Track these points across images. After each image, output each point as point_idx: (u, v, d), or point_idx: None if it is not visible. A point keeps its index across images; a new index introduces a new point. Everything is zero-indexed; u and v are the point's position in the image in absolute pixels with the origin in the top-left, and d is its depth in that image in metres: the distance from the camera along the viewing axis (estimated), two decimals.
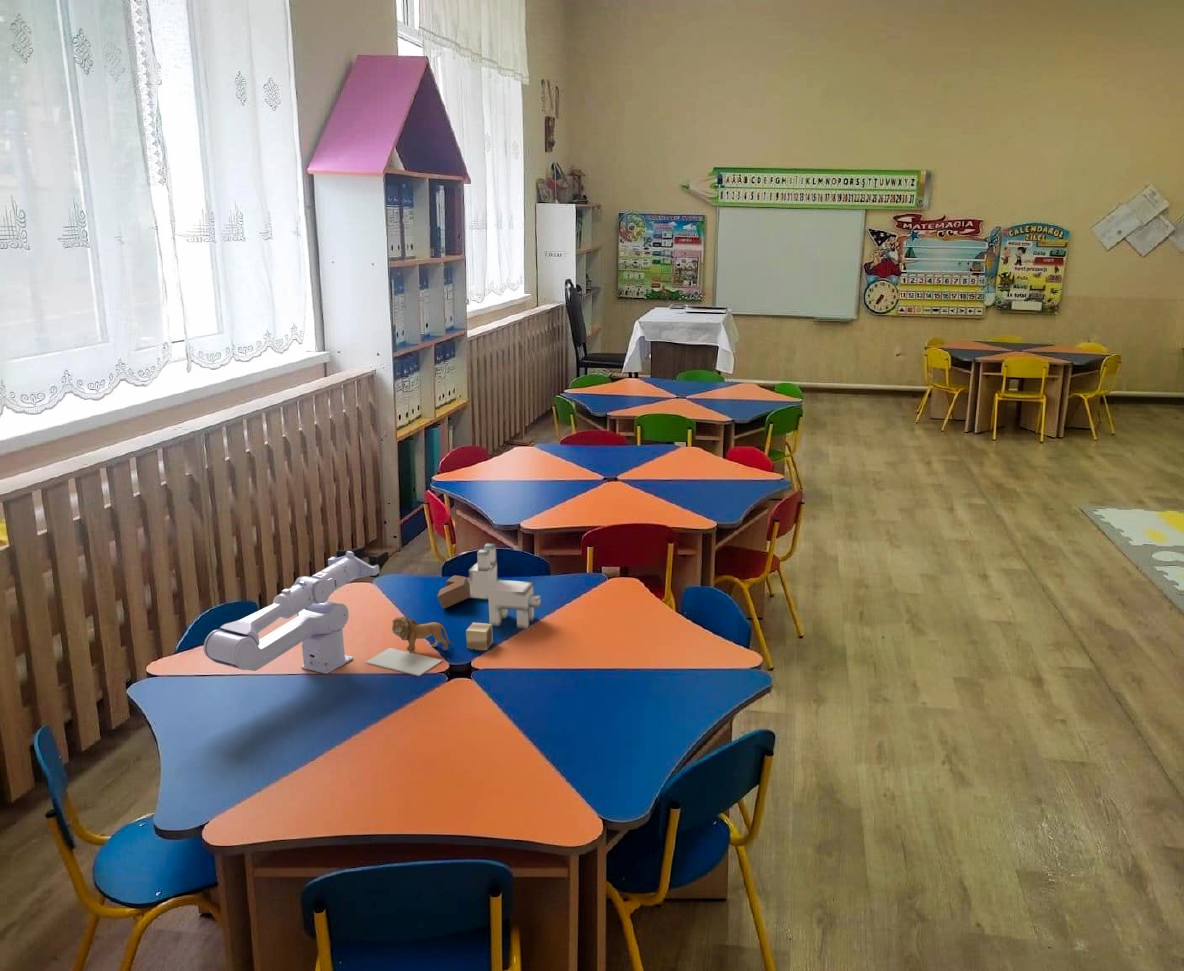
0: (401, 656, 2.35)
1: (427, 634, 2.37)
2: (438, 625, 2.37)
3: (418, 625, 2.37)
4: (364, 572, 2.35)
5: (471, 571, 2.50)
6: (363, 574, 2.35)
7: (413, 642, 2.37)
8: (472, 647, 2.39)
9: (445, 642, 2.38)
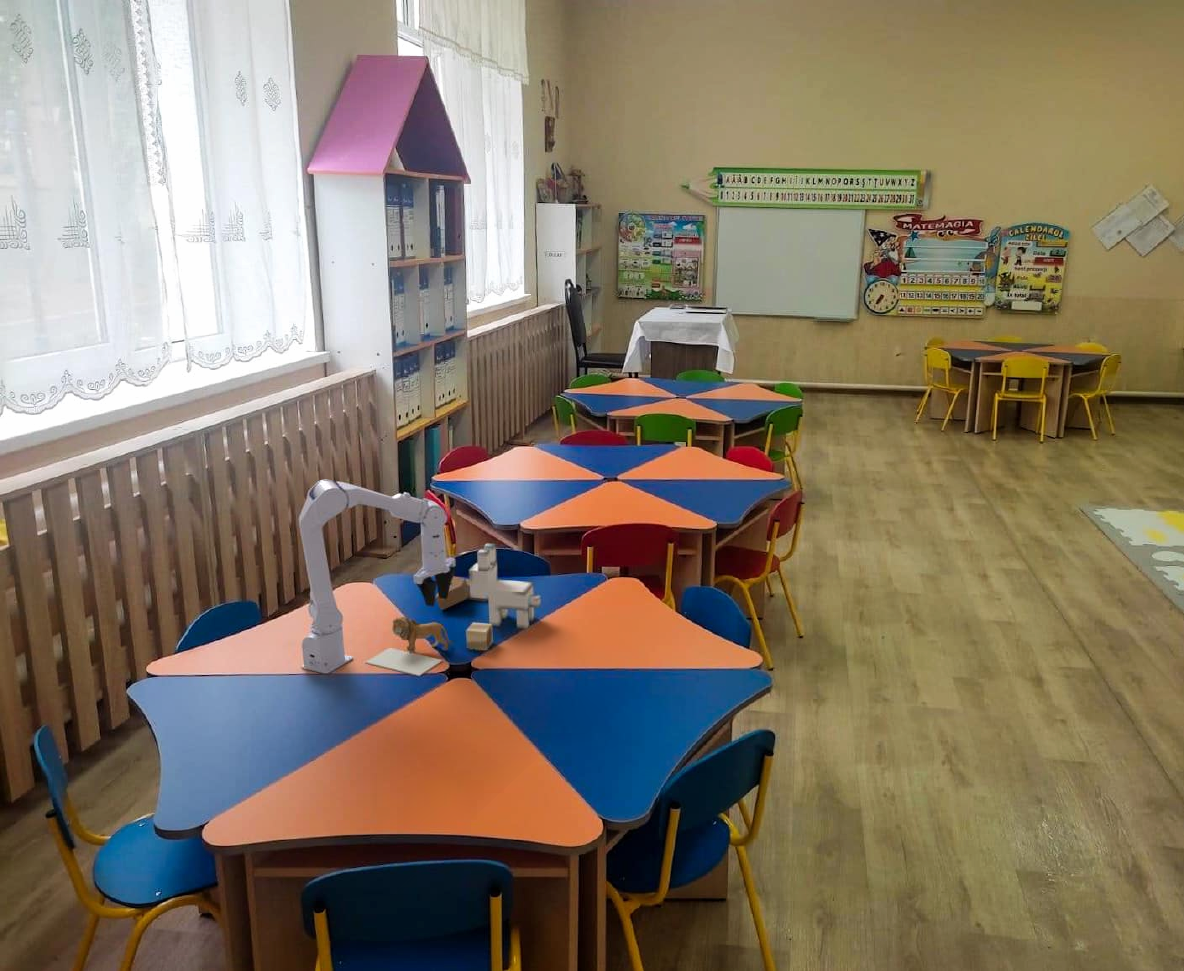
0: (401, 656, 2.35)
1: (427, 634, 2.37)
2: (438, 625, 2.37)
3: (418, 625, 2.37)
4: None
5: (471, 571, 2.50)
6: (421, 571, 2.37)
7: (413, 642, 2.37)
8: (472, 647, 2.39)
9: (445, 642, 2.38)
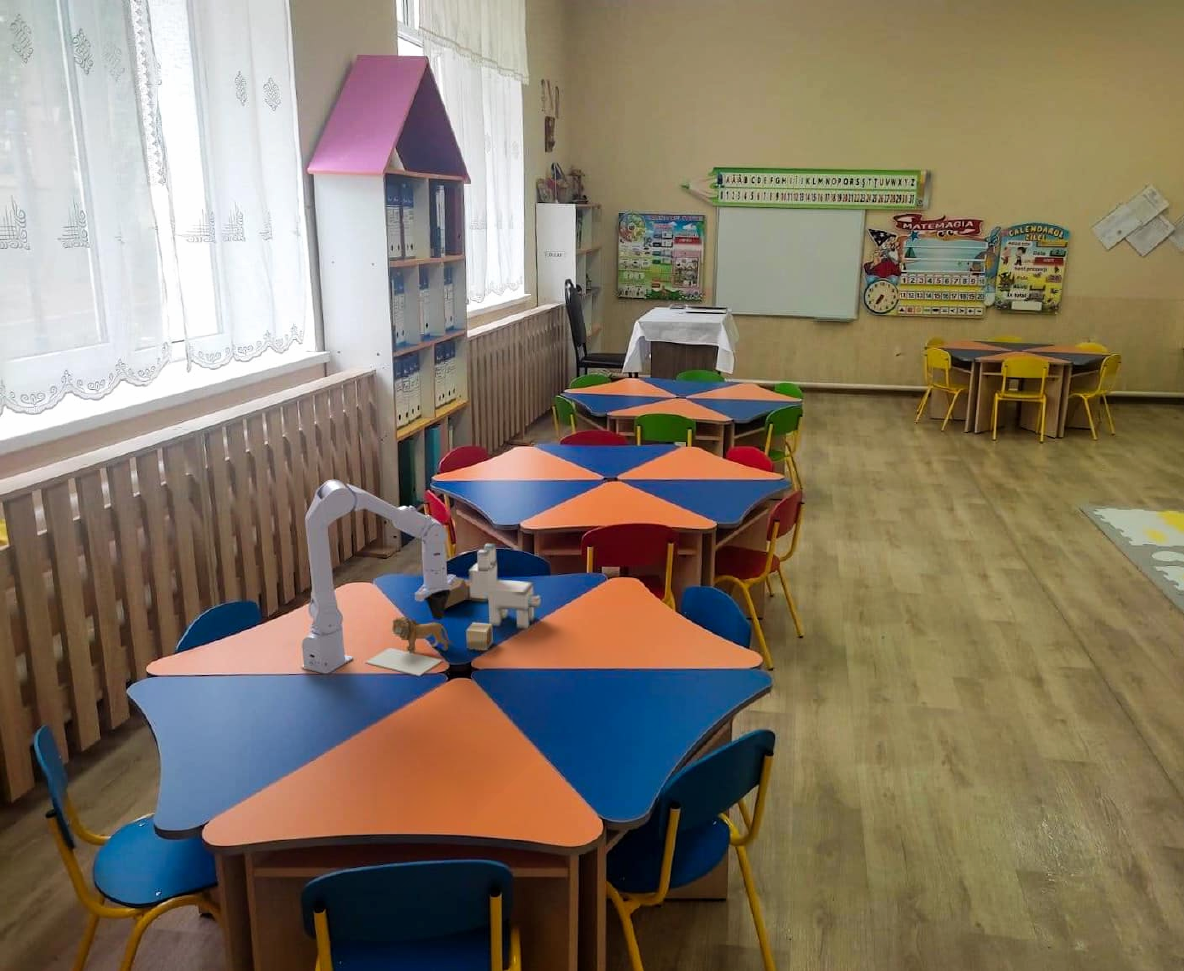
0: (401, 656, 2.35)
1: (427, 634, 2.37)
2: (438, 625, 2.37)
3: (418, 625, 2.37)
4: (423, 590, 2.38)
5: (471, 571, 2.50)
6: (422, 589, 2.39)
7: (413, 642, 2.37)
8: (472, 647, 2.39)
9: (445, 642, 2.38)
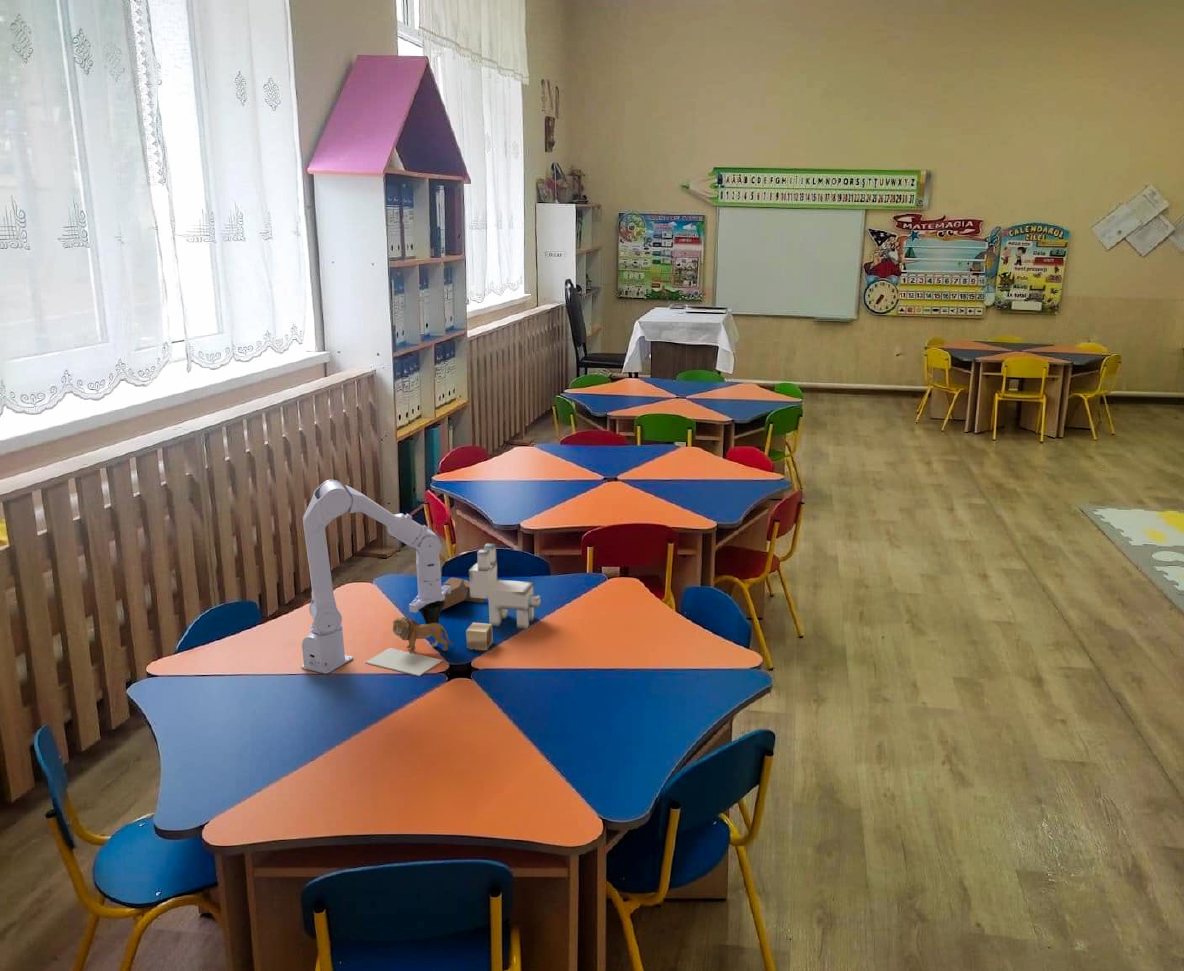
0: (401, 656, 2.35)
1: (427, 635, 2.37)
2: (439, 626, 2.37)
3: (419, 626, 2.37)
4: (418, 601, 2.36)
5: (471, 571, 2.50)
6: (417, 600, 2.37)
7: (413, 642, 2.36)
8: (472, 647, 2.39)
9: (445, 643, 2.38)
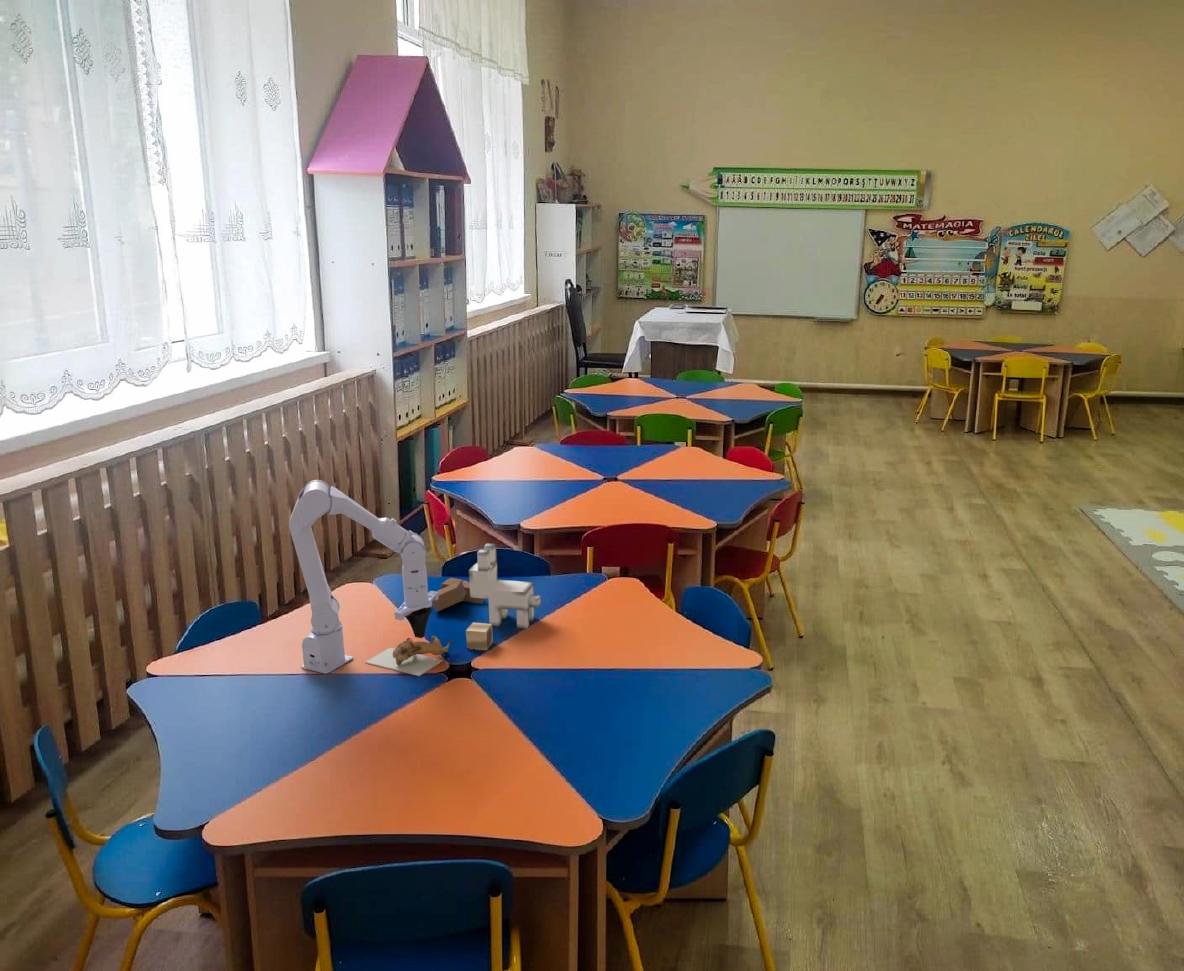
0: None
1: None
2: (439, 653, 2.32)
3: (419, 651, 2.31)
4: (404, 608, 2.32)
5: (471, 571, 2.50)
6: (403, 607, 2.32)
7: None
8: (472, 647, 2.39)
9: (445, 652, 2.36)
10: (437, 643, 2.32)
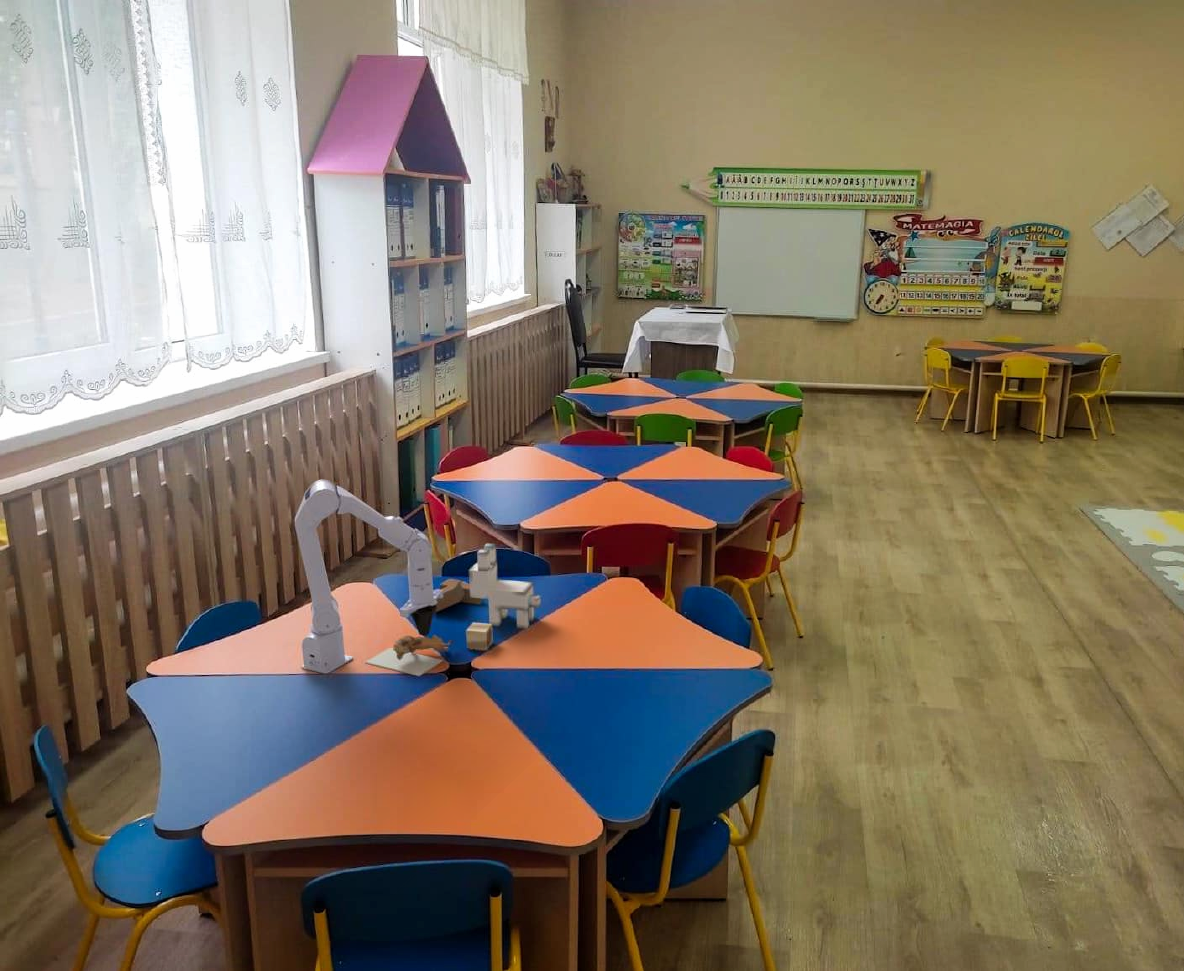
0: None
1: None
2: (440, 647, 2.32)
3: (420, 645, 2.31)
4: None
5: (471, 571, 2.50)
6: (408, 604, 2.34)
7: None
8: (472, 647, 2.39)
9: (446, 650, 2.36)
10: (438, 638, 2.33)
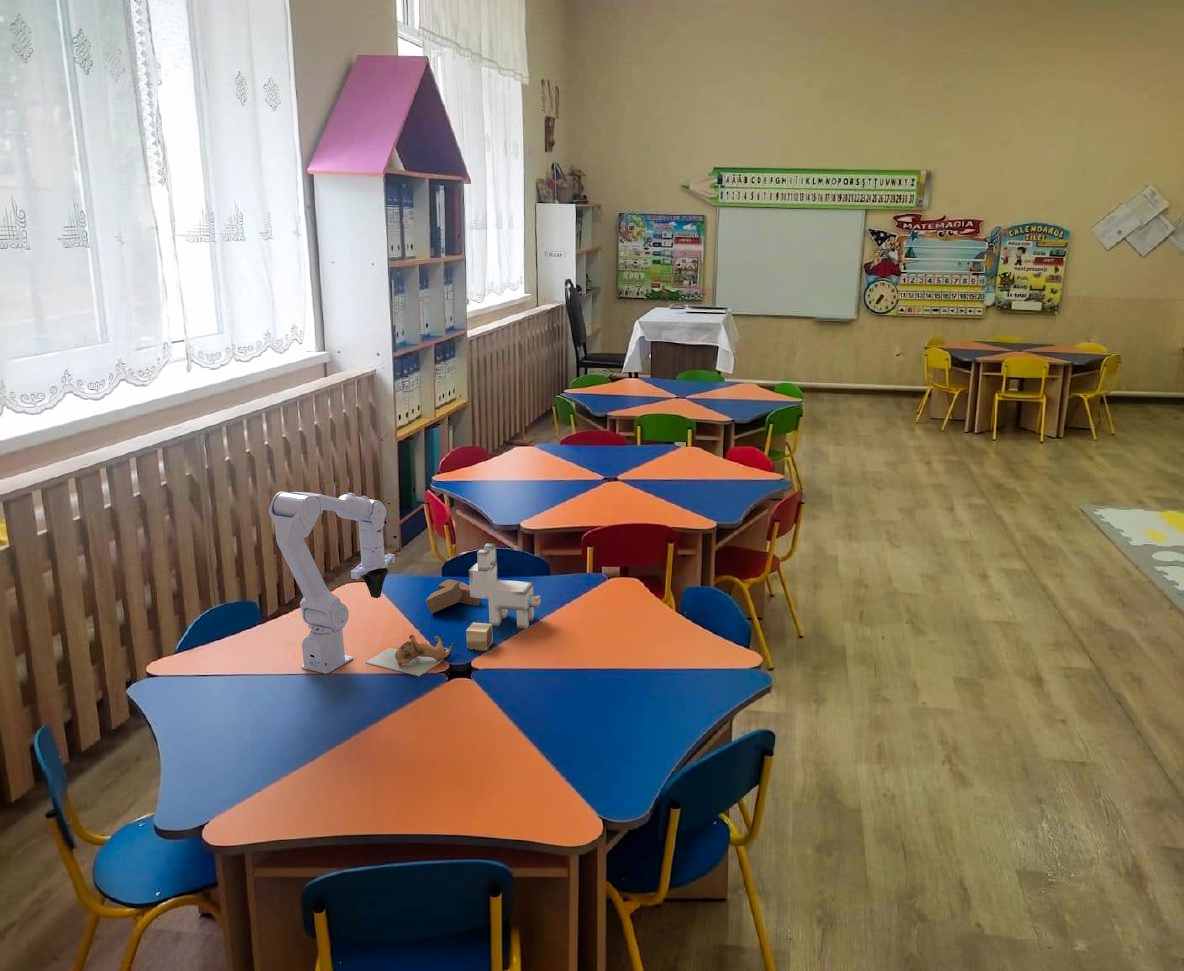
0: None
1: None
2: (442, 658, 2.32)
3: (422, 654, 2.30)
4: (360, 568, 2.41)
5: (471, 571, 2.50)
6: (359, 567, 2.41)
7: None
8: (472, 647, 2.39)
9: None
10: (440, 649, 2.32)
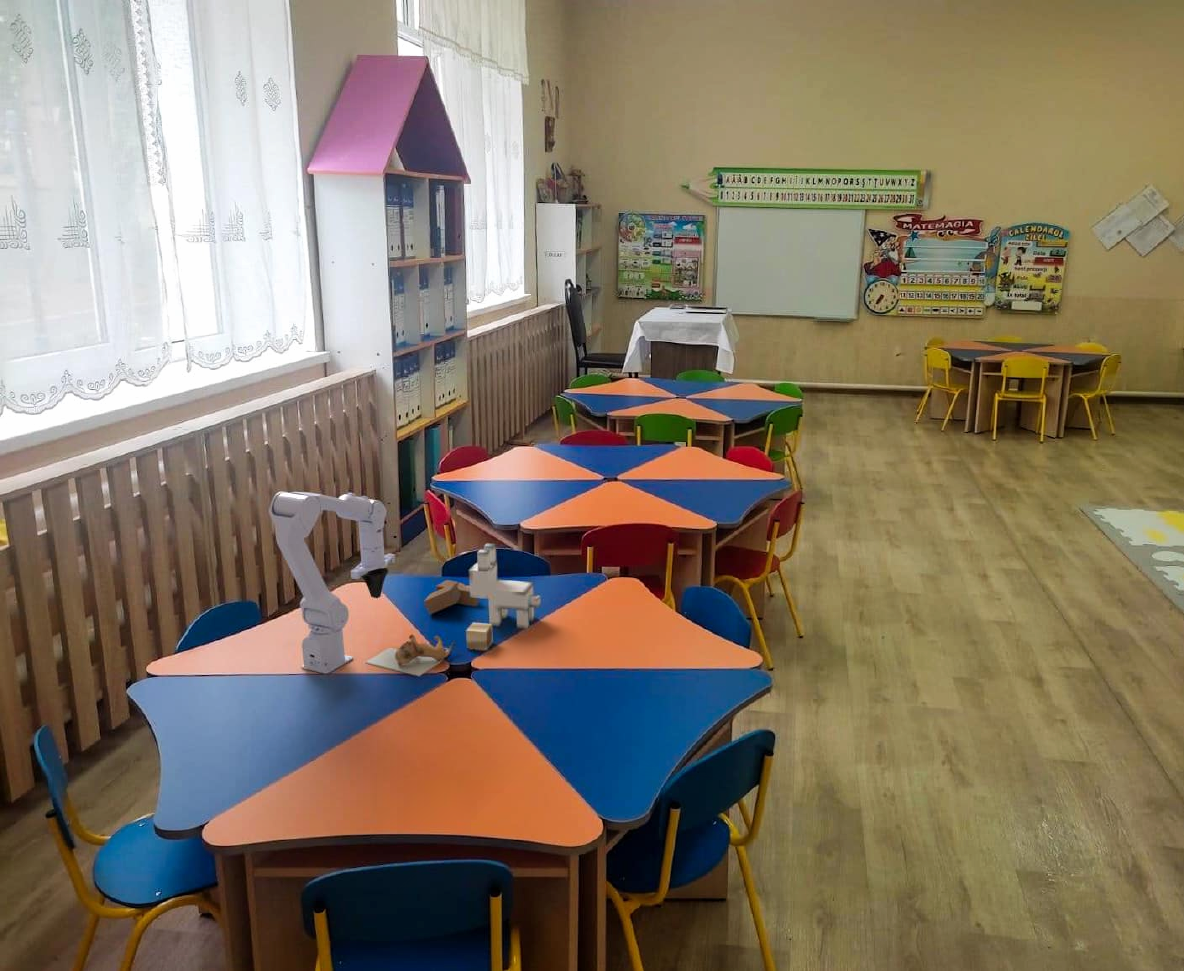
0: None
1: None
2: (442, 658, 2.32)
3: (422, 654, 2.30)
4: (360, 568, 2.41)
5: (471, 571, 2.50)
6: (359, 567, 2.41)
7: None
8: (472, 647, 2.39)
9: None
10: (440, 649, 2.32)
